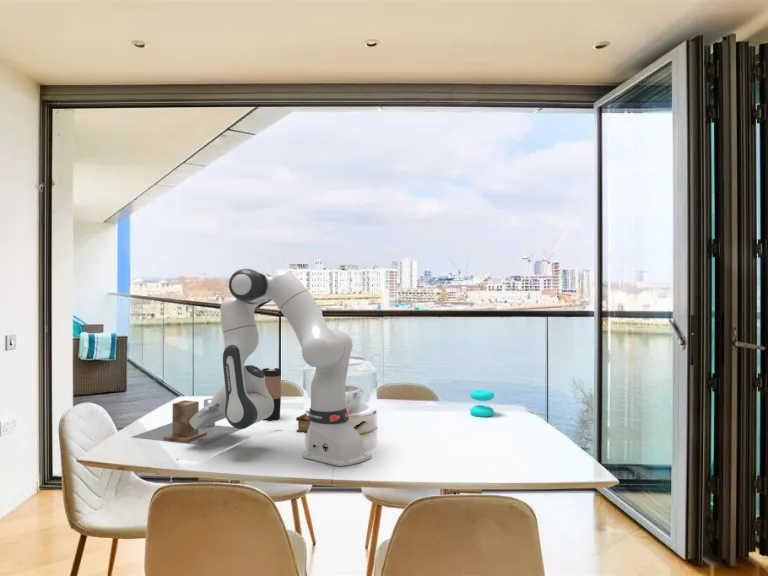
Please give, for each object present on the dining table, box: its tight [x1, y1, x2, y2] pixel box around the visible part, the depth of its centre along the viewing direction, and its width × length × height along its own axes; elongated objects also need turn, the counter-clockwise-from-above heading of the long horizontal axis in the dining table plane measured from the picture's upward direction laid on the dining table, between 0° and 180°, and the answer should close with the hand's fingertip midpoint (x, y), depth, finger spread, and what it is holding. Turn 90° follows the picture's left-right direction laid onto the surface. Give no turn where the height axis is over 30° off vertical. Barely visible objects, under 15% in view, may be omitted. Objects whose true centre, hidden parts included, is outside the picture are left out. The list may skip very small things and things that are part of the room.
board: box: [131, 422, 242, 447], centre depth 196 cm, size 30×24×1 cm
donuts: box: [469, 389, 495, 418], centre depth 233 cm, size 10×10×10 cm
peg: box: [203, 398, 216, 428], centre depth 204 cm, size 4×4×10 cm
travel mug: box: [261, 367, 282, 422], centre depth 222 cm, size 8×8×20 cm
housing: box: [163, 400, 207, 443], centre depth 190 cm, size 10×10×12 cm
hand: (200, 428), depth 188 cm, fingers closed
